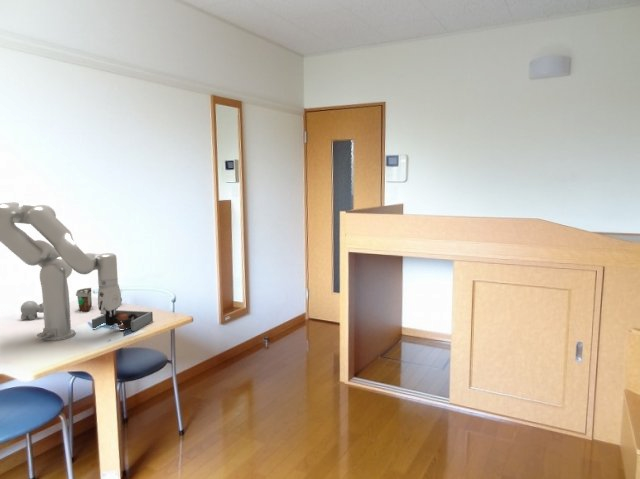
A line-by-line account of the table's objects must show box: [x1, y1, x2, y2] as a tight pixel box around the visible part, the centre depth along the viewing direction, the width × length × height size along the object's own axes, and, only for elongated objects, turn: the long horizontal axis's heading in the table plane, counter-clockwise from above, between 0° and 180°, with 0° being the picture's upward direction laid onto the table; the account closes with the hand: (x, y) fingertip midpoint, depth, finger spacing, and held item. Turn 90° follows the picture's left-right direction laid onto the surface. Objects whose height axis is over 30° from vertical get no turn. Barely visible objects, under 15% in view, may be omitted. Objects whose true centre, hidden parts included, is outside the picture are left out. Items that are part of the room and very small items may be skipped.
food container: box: [75, 287, 93, 313], centre depth 239 cm, size 12×6×10 cm, turn 17°
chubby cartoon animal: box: [20, 300, 44, 321], centre depth 224 cm, size 7×12×8 cm, turn 101°
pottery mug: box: [114, 312, 138, 330], centre depth 210 cm, size 12×10×8 cm
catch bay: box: [91, 309, 154, 332], centre depth 213 cm, size 16×19×4 cm
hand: (110, 324), depth 203 cm, fingers closed
